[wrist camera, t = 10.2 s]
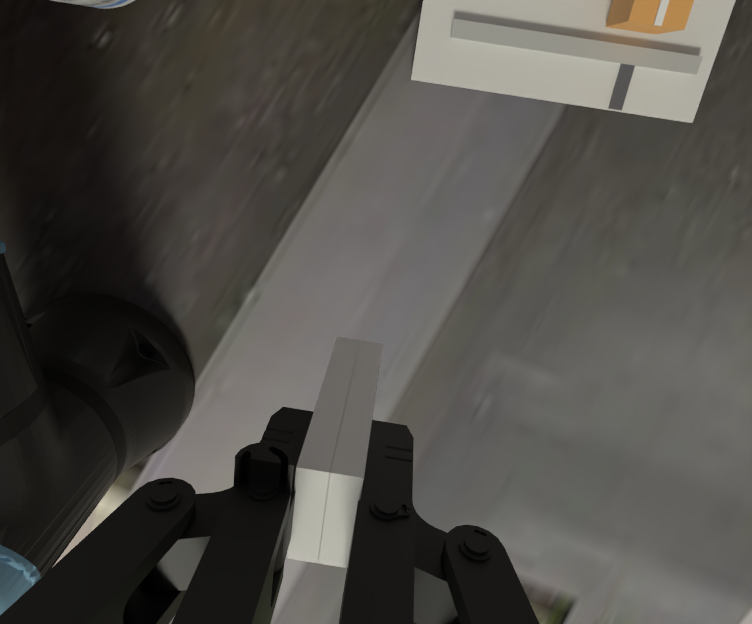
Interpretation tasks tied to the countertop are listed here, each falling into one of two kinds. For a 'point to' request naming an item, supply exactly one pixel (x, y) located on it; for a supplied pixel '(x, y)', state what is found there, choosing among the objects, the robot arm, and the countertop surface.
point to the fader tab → (649, 15)
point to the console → (570, 54)
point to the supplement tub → (98, 3)
